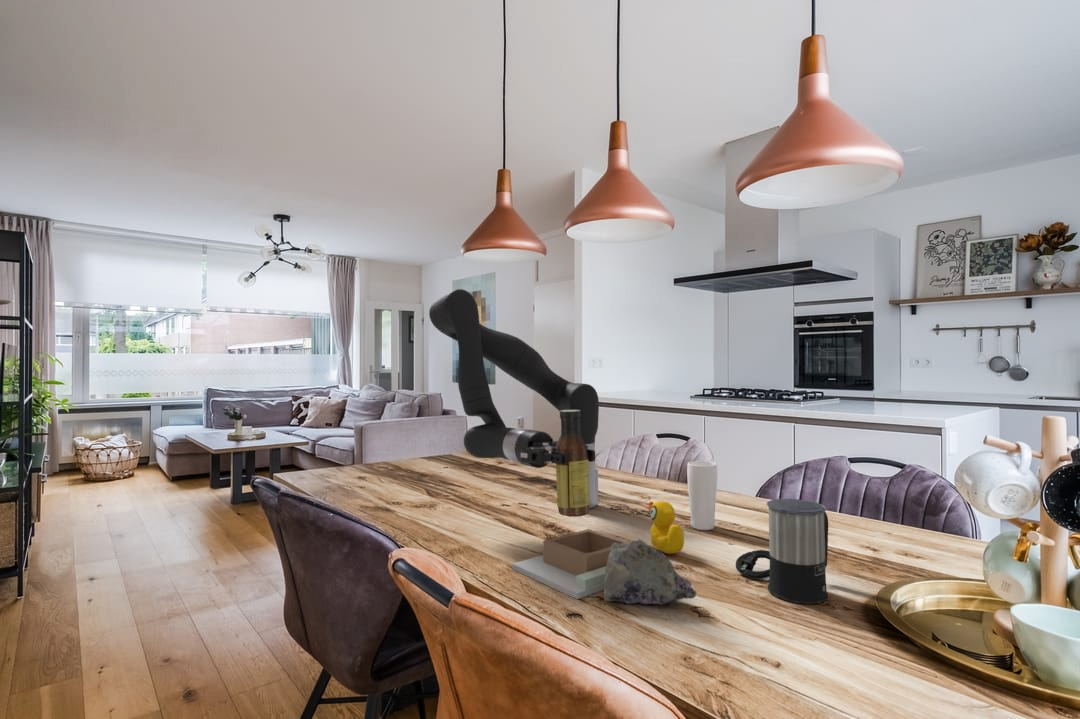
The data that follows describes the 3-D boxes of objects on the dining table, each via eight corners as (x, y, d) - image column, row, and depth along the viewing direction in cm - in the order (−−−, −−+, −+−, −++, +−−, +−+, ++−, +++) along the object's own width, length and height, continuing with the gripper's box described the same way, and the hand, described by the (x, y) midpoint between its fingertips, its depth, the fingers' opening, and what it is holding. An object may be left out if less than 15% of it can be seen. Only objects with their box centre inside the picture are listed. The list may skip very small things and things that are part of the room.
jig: (595, 545, 120) (595, 521, 120) (663, 568, 106) (663, 541, 106) (512, 569, 107) (512, 542, 107) (577, 599, 93) (577, 568, 93)
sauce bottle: (593, 511, 111) (593, 409, 111) (584, 519, 105) (584, 412, 105) (561, 508, 113) (561, 408, 113) (551, 516, 107) (551, 410, 107)
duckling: (639, 544, 121) (638, 497, 121) (661, 541, 123) (660, 495, 123) (667, 561, 110) (667, 510, 110) (691, 558, 112) (691, 507, 112)
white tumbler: (685, 530, 131) (685, 465, 131) (689, 522, 137) (689, 460, 137) (716, 533, 128) (715, 466, 128) (719, 525, 134) (718, 462, 135)
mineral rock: (700, 607, 89) (699, 543, 89) (655, 628, 83) (654, 558, 83) (638, 583, 99) (637, 526, 99) (593, 599, 93) (593, 538, 93)
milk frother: (824, 610, 88) (823, 514, 88) (721, 589, 96) (720, 502, 97) (833, 580, 100) (832, 496, 100) (741, 564, 108) (740, 486, 109)
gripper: (499, 432, 116) (551, 441, 103) (554, 427, 125) (608, 435, 111) (499, 469, 116) (551, 482, 103) (554, 461, 125) (608, 473, 111)
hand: (580, 457), depth 107 cm, fingers closed on sauce bottle, 6 cm apart
